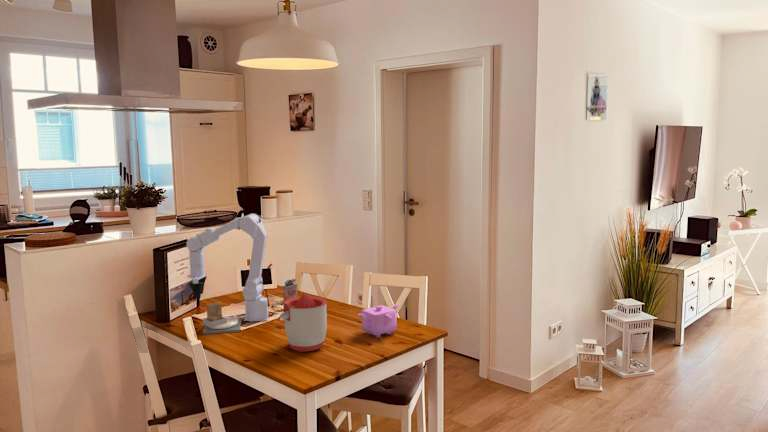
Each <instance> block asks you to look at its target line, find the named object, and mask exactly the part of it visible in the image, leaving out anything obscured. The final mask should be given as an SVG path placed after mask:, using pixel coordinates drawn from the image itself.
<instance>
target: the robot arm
mask: <svg viewBox="0 0 768 432" xmlns="http://www.w3.org/2000/svg"><path fill="white" fill-rule="evenodd" d="M232 230H238V231H240V230H242V231H243V233H246V234H247V235H249V236H250V237H251V238H252V239H253V242H252V248H251V250H252V251H251V256H250V264H249V273H248V277H247V279H246V282H245V285H244V287H243V288H242V296H243V298H244V306H245V307H244V311H245V313H244V314H245V316H244V319H243V322H244V321H246V320H247V321H249V322H263V321H268V319H269V314H270V313H269V307H268V297H263V294H262V293H263V292H264V289H265V288H264V284H263V283H264V282H263V277H262V275H263V274H262V273H263V268H264V267H263V265H264V259H265V252H266V244H267V237H268V236H267V231H266V229H265V227H264V224H263V219H262V218H261V217H260V216H259V215H258V214H257V213H249V214H247V215H244V216H241V217H238V218H235V219H233V220H230V221H229V222H226V223H225V224H223V225H221V226H220V227H218V228H214V227H207V228H205V231H202V232H201V233H199V232H198V233H196V235H195V236H191V237H190V238H189V239H188V240H186V248H187V250H188V254H189V273H190V274H188V275H187V278H190V279H191V280H192V281H191V282H189V283H188V286H189V287H190V288H191V291H192V294H193V297H194V299H195V300H199V299H201V296H202V295H203V294H204V288H205V283H206V279H207V278H208V277H207V275H206V273H205V257H204V256H205V255H204V247H207V246H209V245H211V244H213V243H215V242H217V241H219V240H220V236H222V235H224V234H226V233H229V232H230V231H232Z"/></svg>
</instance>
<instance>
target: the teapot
mask: <svg viewBox="0 0 768 432" xmlns="http://www.w3.org/2000/svg"><path fill="white" fill-rule="evenodd" d="M398 307H400V304H395V305H393V307H389V306H386V305H375V306H373V307H369V308H366V309H361V313H358V314H357V316H360V317H361V330H362V331H363V332H366V334H367V335H372V336H374V337H375V338H382V335H383V334H386V335H392V332H394V331H398V328H397V327H398V325H397V324H398V323H397V319H398V318H397V308H398Z"/></svg>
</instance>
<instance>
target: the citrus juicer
mask: <svg viewBox="0 0 768 432" xmlns="http://www.w3.org/2000/svg"><path fill="white" fill-rule="evenodd" d="M327 303H328V301H327V299H326V298H324V297H321V296H315V295H309V294H307V293H303V294H302V295H301V296H297V297H294V298H290V299H288V300H286V301H284V302H283V303H282V305H283V312H282V313H281V314H279V320H280V321H282V322H283V321H284V328H285V329H284V331H285V334H286V335H285V336H286V338H287V343H288V346H289V347H290V348H291V349H292V350H293V351H297V352H300V353H304V352H311V351H316V350H319V349H321V348H322V347H323V345H324V343H325V338H326V335H327V329H328V324H327V323H328V320H327V319H328V318H327V314H328V313H327V312H328V311H327Z"/></svg>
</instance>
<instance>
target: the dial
mask: <svg viewBox="0 0 768 432" xmlns="http://www.w3.org/2000/svg"><path fill="white" fill-rule="evenodd" d="M238 319H239V318H237V317H235V316H234V317H233V316H222V319H220V320H216V321H213V322H212V321H209V320H207V317H205V318H202V325H204V326H205V325H207V327H209V328H212V329H225V328H230V327H234V326H236V325H237V324H238Z"/></svg>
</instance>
